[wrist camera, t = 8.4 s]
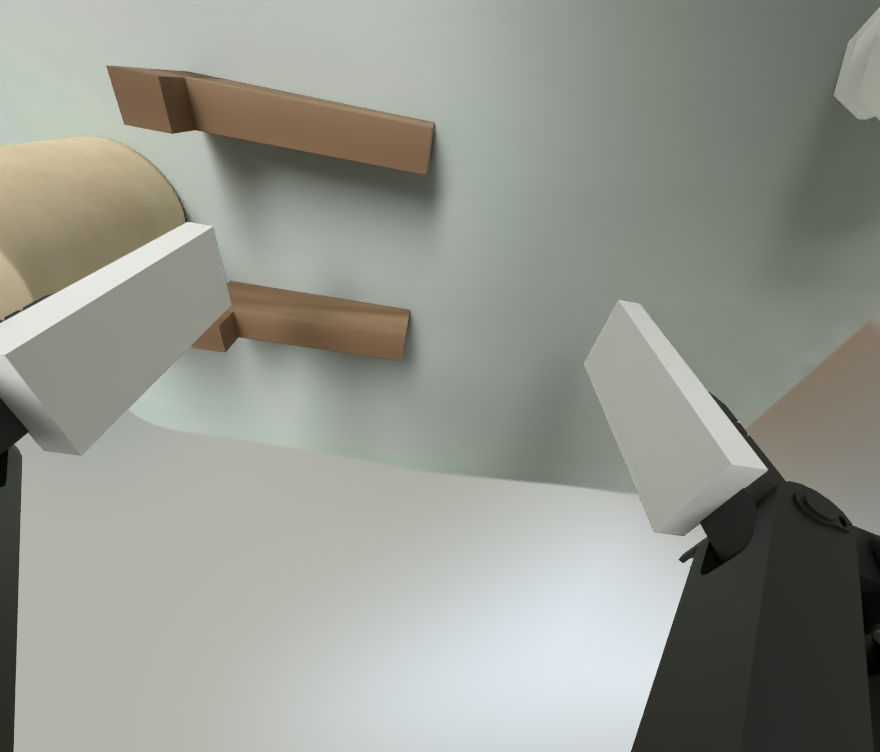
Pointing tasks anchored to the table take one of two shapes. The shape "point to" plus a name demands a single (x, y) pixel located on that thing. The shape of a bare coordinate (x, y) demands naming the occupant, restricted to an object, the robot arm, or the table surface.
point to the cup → (862, 71)
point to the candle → (74, 213)
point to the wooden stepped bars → (296, 127)
